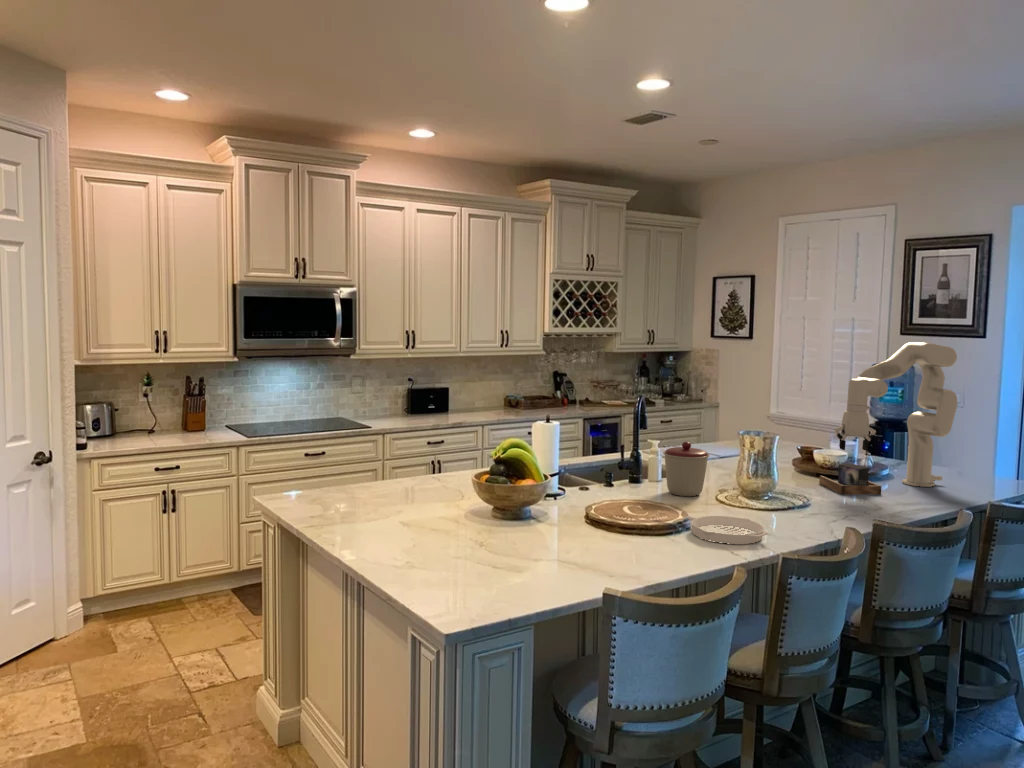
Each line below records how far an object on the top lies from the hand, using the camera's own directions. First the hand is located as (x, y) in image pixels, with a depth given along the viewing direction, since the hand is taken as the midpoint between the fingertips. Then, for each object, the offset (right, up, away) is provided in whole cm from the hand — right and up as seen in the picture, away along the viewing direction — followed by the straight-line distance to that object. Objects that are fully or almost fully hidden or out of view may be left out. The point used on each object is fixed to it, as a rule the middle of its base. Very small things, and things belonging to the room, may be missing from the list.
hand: (853, 449), depth 320 cm
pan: (-76, -22, -63) cm, 101 cm away
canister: (-72, -17, -10) cm, 75 cm away
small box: (0, -17, +2) cm, 17 cm away
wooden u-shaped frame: (0, -17, +4) cm, 17 cm away
